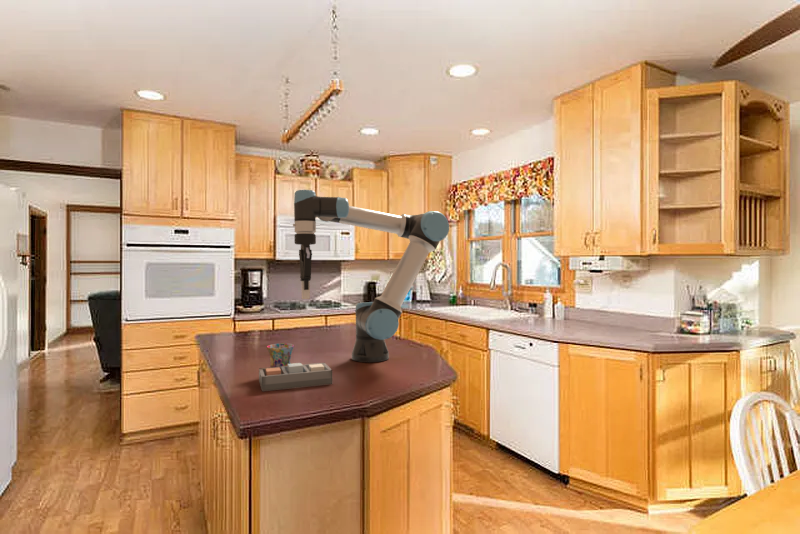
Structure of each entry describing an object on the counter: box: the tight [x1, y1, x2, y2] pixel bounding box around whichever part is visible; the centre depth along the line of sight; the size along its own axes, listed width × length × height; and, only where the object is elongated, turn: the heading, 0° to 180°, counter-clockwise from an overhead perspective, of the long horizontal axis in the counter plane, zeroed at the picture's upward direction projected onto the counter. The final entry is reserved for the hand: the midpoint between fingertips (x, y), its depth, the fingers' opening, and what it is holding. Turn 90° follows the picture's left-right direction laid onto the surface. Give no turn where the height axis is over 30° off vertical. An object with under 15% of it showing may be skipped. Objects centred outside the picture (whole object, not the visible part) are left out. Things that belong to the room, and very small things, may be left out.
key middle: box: [287, 362, 303, 374], centre depth 150 cm, size 4×4×2 cm
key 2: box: [309, 363, 324, 372], centre depth 153 cm, size 4×4×2 cm
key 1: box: [266, 367, 281, 376], centre depth 148 cm, size 4×4×2 cm
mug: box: [266, 342, 295, 367], centre depth 161 cm, size 12×9×11 cm
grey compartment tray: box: [258, 362, 333, 392], centre depth 150 cm, size 22×12×4 cm, turn 111°
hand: (305, 298), depth 165 cm, fingers closed
